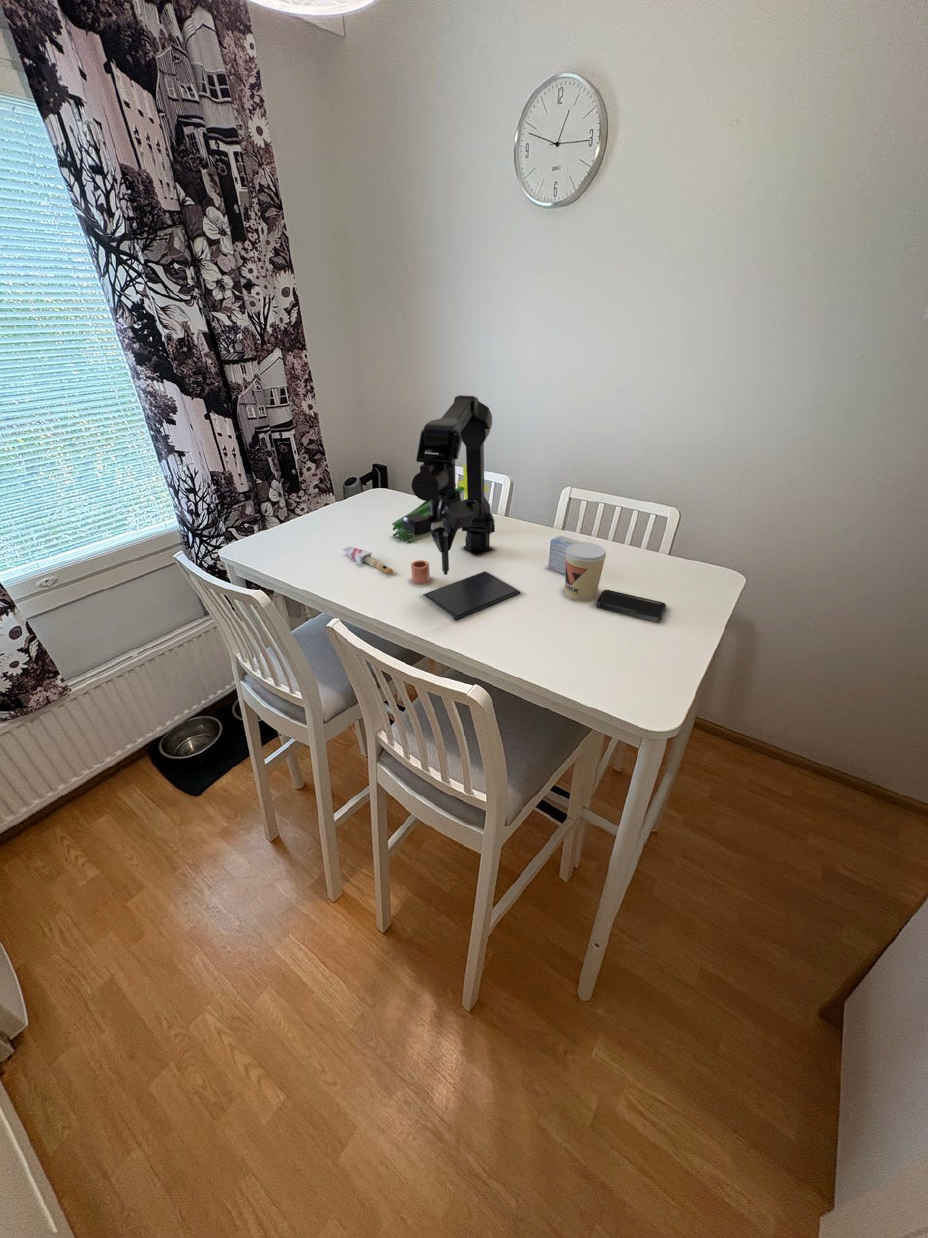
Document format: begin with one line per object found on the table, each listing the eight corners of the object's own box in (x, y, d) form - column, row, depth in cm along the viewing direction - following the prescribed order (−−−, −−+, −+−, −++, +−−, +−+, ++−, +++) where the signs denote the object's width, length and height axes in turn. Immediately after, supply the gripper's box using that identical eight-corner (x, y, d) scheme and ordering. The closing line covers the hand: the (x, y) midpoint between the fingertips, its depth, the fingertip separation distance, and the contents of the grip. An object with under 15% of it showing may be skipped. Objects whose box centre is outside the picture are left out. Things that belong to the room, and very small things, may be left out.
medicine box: (581, 572, 132) (585, 542, 127) (572, 578, 129) (575, 547, 125) (556, 563, 137) (559, 534, 132) (547, 568, 134) (550, 539, 129)
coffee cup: (554, 588, 125) (558, 545, 118) (584, 581, 128) (591, 538, 121) (575, 606, 117) (581, 561, 111) (607, 597, 121) (614, 553, 114)
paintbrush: (351, 541, 143) (395, 565, 131) (352, 549, 144) (395, 574, 133) (340, 545, 140) (383, 570, 129) (341, 553, 142) (384, 579, 131)
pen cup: (423, 575, 131) (422, 558, 128) (433, 582, 128) (432, 564, 125) (409, 580, 129) (407, 563, 126) (418, 587, 126) (417, 570, 123)
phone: (604, 588, 122) (667, 603, 116) (603, 592, 122) (665, 607, 116) (595, 603, 116) (661, 619, 110) (594, 607, 117) (660, 623, 111)
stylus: (446, 571, 118) (445, 531, 113) (450, 574, 117) (449, 533, 111) (440, 573, 118) (439, 533, 112) (444, 576, 116) (443, 535, 111)
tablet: (485, 573, 132) (485, 570, 131) (520, 593, 123) (520, 590, 122) (423, 596, 122) (422, 593, 121) (456, 620, 112) (456, 617, 112)
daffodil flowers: (381, 532, 158) (461, 482, 171) (409, 564, 156) (489, 511, 168) (381, 500, 143) (469, 448, 156) (412, 536, 140) (500, 480, 153)
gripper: (427, 505, 95) (431, 575, 104) (499, 485, 105) (497, 551, 114) (397, 490, 103) (403, 557, 111) (467, 473, 112) (467, 536, 121)
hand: (444, 551), depth 114 cm, fingers closed on stylus, 2 cm apart
